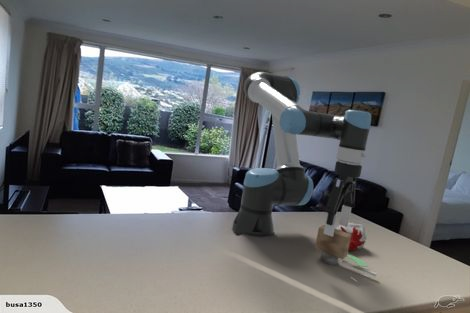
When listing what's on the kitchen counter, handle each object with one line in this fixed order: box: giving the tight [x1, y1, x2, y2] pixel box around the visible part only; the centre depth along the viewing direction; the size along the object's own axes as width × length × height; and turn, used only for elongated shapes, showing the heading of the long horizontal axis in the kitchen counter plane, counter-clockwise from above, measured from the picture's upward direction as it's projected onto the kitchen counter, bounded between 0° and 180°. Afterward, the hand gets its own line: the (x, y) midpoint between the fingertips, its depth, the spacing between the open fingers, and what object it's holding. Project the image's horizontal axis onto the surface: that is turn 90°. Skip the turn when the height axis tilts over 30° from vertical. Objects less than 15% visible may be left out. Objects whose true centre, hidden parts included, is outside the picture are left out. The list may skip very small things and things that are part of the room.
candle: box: [335, 222, 367, 251], centre depth 121 cm, size 9×11×15 cm
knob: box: [314, 224, 378, 277], centre depth 102 cm, size 18×5×10 cm, turn 54°
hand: (336, 230), depth 104 cm, fingers open, 13 cm apart
